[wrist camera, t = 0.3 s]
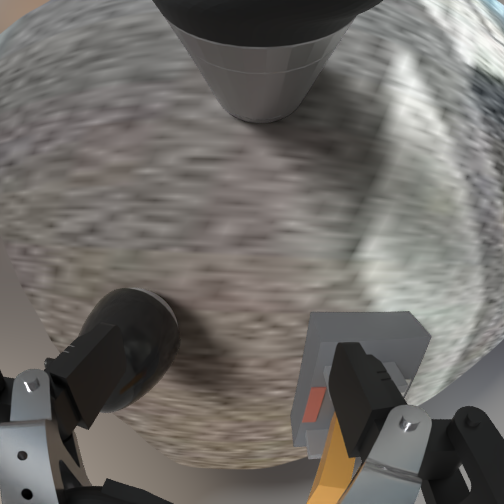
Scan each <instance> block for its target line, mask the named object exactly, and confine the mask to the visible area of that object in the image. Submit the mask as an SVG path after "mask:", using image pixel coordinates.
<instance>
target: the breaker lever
mask: <svg viewBox="0 0 504 504" xmlns="http://www.w3.org/2000/svg"><path fill="white" fill-rule="evenodd" d="M354 462H355V457H354V458H349V457H348V454H347V450H346V447H345V443H344V440H343V436H342V433H341V429H340V426H339V423H338V419H337V416H336V413H335V412H334V414H333V417H332V420H331V423H330V427H329V431H328V435H327V439H326V443H325V447H324V450H323V454H322V457H321V461H320V464H319V468H318V471H317V475H316V477H315V480H314V483H313V486H312V489H311V492H310V495H309V498H308V501H307V504H336V503H337V502H338V500H339V499H340V497H341V496H342V494H343V493H344V491H345V490H346V488H347V487H348V485H349V483H350V482H351V477H352V472H353V468H354Z"/></svg>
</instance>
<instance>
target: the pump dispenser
mask: <svg viewBox="0 0 504 504" xmlns="http://www.w3.org/2000/svg"><path fill="white" fill-rule="evenodd" d="M99 323H106V324H112V325H117V326H119V327H120V330H121V334H122V339H123V345H124V350H125V355H126V361H127V365H126V371H125V373H124V375H123V377H122V378H121V380H120V381H119V383H118V384H117V386H116V387H115V389H114V390H113V392H112V394H111V395H110V397H109V398H108V400H107V401H106V403H105V405H104V406H103V408H102V409H101V411H100V412H102V413H111V412H115V411H118V410H121V409H123V408H126V407H127V406H129V405H131V404H133V403H134V402H136V401H137V400H139V399H140V398H141V397H143V396H144V395H145V394H146V393H148V392H149V391H150V390H151V389H152V388H153V387H154V386H155V385H156V384H157V383H158V382H159V381H160V380H161V378H162V377H163V376H164V375H165V373H166V372H167V370H168V369H169V367H170V366H171V364H172V363H173V361H174V360H175V358H176V355H177V353H178V351H179V347H180V332H179V328H178V323H177V320H176V317H175V315H174V313H173V311H172V309H171V308H170V306H169V305H168V304H167V303H166V302H165V301H164V300H163V299H162V298H161V297H160V296H158V295H157V294H155V293H153V292H151V291H149V290H146V289H142V288H121V289H116V290H114V291H111V292H110V293H108V294H107V295H105V296H104V297H103V298H102V299H101V300H100V301H99V302H98V304H97V305H96V306H95V307H94V309H93V310H92V312H91V313H90V315H89V316H88V318H87V319H86V321H85V323H84V325H83V327H82V329H81V331H80V333H79V336H78V337H80V336H82V335H84V334H86V333H88V332H90V331H91V330H92V329H93V328H94V327H95V326H96V325H97V324H99ZM54 360H55V359H52V358H46V360H45V363H44V365H45V368H47V367H48V366H49V365H50V364H51V363H52V362H53V361H54Z"/></svg>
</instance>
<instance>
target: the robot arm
mask: <svg viewBox="0 0 504 504" xmlns="http://www.w3.org/2000/svg"><path fill="white" fill-rule="evenodd" d="M381 1H383V0H153V2H154V3H155V5H156V6H157V7H158V9H159V10H160V12H161V13H162V14H163V16H164V17H165V19H166V20H167V21H168V23H169V24H170V26H171V27H172V29H173V30H174V32H175V33H176V35H177V36H178V38H179V39H180V41H181V42H182V44H183V45H184V47H185V48H186V50H187V51H188V53H189V54H190V56H191V58H192V59H193V61H194V62H195V64H196V66H197V67H198V69H199V70H200V72H201V74H202V75H203V77H204V78H205V80H206V82H207V83H208V85H209V87H210V88H211V90H212V92H213V93H214V95H215V97H216V98H217V100H218V101H219V103H220V104H221V106H222V107H223V108H224V109H225V110H226V111H227V112H228V113H230V114H231V115H233V116H235V117H236V118H238V119H241V120H244V121H247V122H252V123H269V122H273V121H278V120H280V119H282V118H284V117H286V116H288V115H289V114H291V113H292V112H293V111H294V110H295V109H296V108H297V107H298V106H299V105H300V104H301V102H302V100H303V99H304V97H305V95H306V94H307V93H308V91H309V89H310V88H311V86H312V85H313V83H314V81H315V80H316V78H317V77H318V75H319V73H320V72H321V70H322V69H323V67H324V66H325V64H326V62H327V61H328V59H329V58H330V56H331V55H332V53H333V52H334V50H335V48H336V47H337V45H338V44H339V42H340V41H341V39H342V37H343V36H344V34H345V33H346V31H347V30H348V28H349V27H350V25H351V24H352V22H353V21H354V19H355V18H356V16H357V15H358V14H360V13H363V12H365V11H367V10H369V9H371V8H373V7H374V6H376V5H377V4H379V3H380V2H381ZM126 365H127V361H126V355H125V350H124V345H123V339H122V334H121V330H120V327H119V326H117V325H112V324H106V323H99V324H97V325H96V326H95V327H94V328H93V329H92V330H91V331H90V332H88V333H86V334H84V335H82V336H80V337H78V338H77V339H76V340H74V341H73V342H72V343H71V344H70V346H68V347H67V348H66V349H65V350H64V352H62V353H61V354H60V355H59V356H58V357H57V358H56V359H55V360H54V361H53V362H52V363H51V364H50V365H49V366H48V367H47V368H46V369H45V370H44V371H43V370H39V369H29V370H26V371H24V372H22V373H20V374H19V375H18V376H17V377H16V378H15V379H14V378H7V377H3V375H2V373H1V371H0V491H1V499H2V504H173V503H171V502H169V501H166V500H164V499H162V498H160V497H158V496H155V495H153V494H151V493H149V492H147V491H145V490H143V489H139V488H136V487H132V486H129V485H126V484H122V483H119V482H116V481H113V480H111V479H108V478H107V479H106V481H105V483H104V485H103V487H102V486H92V484H91V483H90V481H89V479H88V477H87V475H86V472H85V468H84V465H83V462H82V458H81V454H80V450H79V446H78V442H77V437H76V434H75V432H74V429H75V427H76V426H80V427H82V428H85V429H88V430H89V428H90V427H91V425H92V424H93V422H94V420H95V419H96V417H97V416H98V414H99V412H100V411H101V409H102V408H103V406H104V405H105V403H106V401H107V400H108V398H109V397H110V395H111V394H112V392H113V390H114V389H115V387H116V386H117V384H118V383H119V381H120V380H121V378H122V377H123V375H124V373H125V371H126ZM328 386H329V393H330V396H331V399H332V403H333V406H334V409H335V413H336V416H337V419H338V423H339V426H340V429H341V433H342V436H343V440H344V443H345V447H346V450H347V454H348V457H349V458H354V457H361V460H362V464H361V465H360V467H359V469H358V470H357V472H356V474H355V475H354V477H353V479H352V480H351V482H350V483H349V485H348V487H347V488H346V490H345V491H344V493H343V494H342V496H341V497H340V499H339V500H338V502H337V503H336V504H414V503H415V501H416V498H417V495H418V493H419V490H420V487H421V490H422V492H423V496H424V498H425V502H426V504H504V439H503V437H502V436H501V435H500V433H499V431H498V430H497V429H496V427H495V426H494V424H493V423H492V421H491V420H490V418H489V417H488V416H487V414H486V413H485V412H484V411H482V410H481V409H479V408H476V407H473V406H466V407H462V408H460V409H459V410H458V411H457V412H456V413H455V415H454V417H453V418H452V419H449V420H448V419H446V420H444V419H443V420H442V419H440V420H437V419H435V420H434V419H431V418H430V416H429V415H428V413H427V412H426V411H424V410H423V409H421V408H419V407H417V406H413V405H407V403H406V401H405V399H404V398H403V396H402V394H401V393H400V391H399V389H398V388H397V386H396V385H395V383H394V381H393V380H391V376H390V375H389V373H388V372H387V370H386V368H385V367H384V365H383V364H382V362H381V361H380V360H378V359H377V358H376V357H374V356H373V355H372V354H368V355H367V354H366V353H365V351H364V349H363V348H362V346H361V344H360V343H359V342H339V343H338V344H337V346H336V349H335V354H334V358H333V362H332V367H331V371H330V375H329V382H328ZM462 464H463V466H464V468H465V471H466V473H467V475H468V477H469V479H470V481H471V491H470V492H469V490H468V487H467V485H466V483H465V480H464V478H463V476H462V474H461V472H460V470H459V467H460V466H461V465H462Z"/></svg>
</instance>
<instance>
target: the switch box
mask: <svg viewBox="0 0 504 504" xmlns="http://www.w3.org/2000/svg"><path fill="white" fill-rule="evenodd" d="M430 339H431V335H430V334H429V333H428V332H427V330H426V329H425V328H424V327H423V326H422V325H421V324H420V323H419V322H418V321H417V319H416V318H415V317H414V316H413V315H412V314H411V313H410V312H409V311H405V312H311V313H310V320H309V326H308V331H307V337H306V343H305V348H304V354H303V359H302V364H301V369H300V374H299V379H298V384H297V389H296V393H295V398H294V402H293V407H292V411H291V426H292V436H293V446H294V447H303V446H307V452H308V459H316V458H321V457H322V454H323V450H324V447H325V443H326V439H327V435H328V431H329V427H330V423H331V420H332V417H333V414H334V412H335V409H334V406H333V403H332V399H331V396H330V393H329V386H328V382H329V375H330V371H331V367H332V362H333V358H334V354H335V349H336V346H337V344H338V343H339V342H359V343H360V344H361V346H362V348H363V349H364V351H365V353H366V354H367V355H368V354H372V355H373V356H374V357H376V358H377V359H378V360H380V361H381V362H382V364H383V365H384V367H385V368H386V370H387V372H388V373H389V375H390V376H391V380H393V381H394V383H395V385H396V386H397V388H398V389H399V391H400V393H401V394H402V396H403V398H405V396H406V394H407V392H408V390H409V388H410V386H411V383H412V381H413V379H414V377H415V375H416V373H417V370H418V368H419V366H420V364H421V361H422V359H423V356H424V354H425V352H426V349H427V347H428V344H429V341H430Z"/></svg>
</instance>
